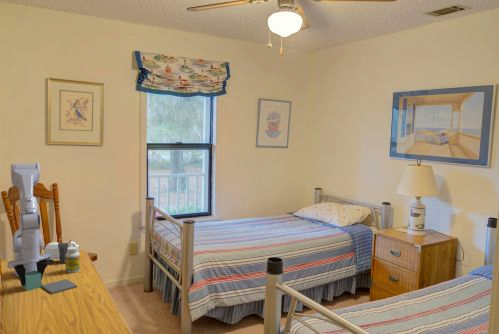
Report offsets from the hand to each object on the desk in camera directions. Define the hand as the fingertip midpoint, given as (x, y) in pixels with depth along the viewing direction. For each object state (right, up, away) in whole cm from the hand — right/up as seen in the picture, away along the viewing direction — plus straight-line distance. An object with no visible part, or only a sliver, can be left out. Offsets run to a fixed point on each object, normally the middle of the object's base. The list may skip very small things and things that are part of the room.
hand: (31, 282), depth 144 cm
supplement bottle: (+7, -1, +18) cm, 19 cm away
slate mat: (+10, -2, +1) cm, 10 cm away
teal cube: (0, -2, 0) cm, 2 cm away
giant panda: (-3, +1, +28) cm, 28 cm away
